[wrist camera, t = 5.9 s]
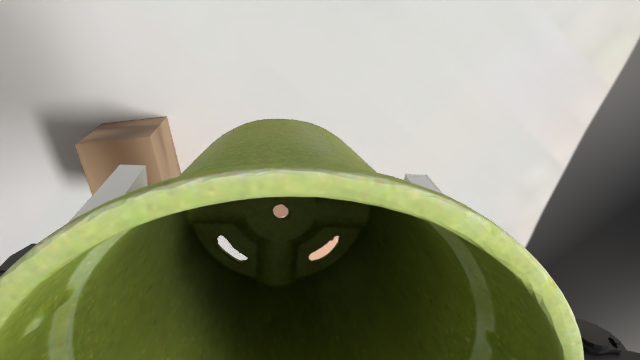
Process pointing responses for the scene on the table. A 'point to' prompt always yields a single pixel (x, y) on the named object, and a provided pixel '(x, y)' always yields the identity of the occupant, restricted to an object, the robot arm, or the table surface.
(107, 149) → the walnut cube
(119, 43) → the table surface
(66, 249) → the plant pot
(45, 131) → the table surface
